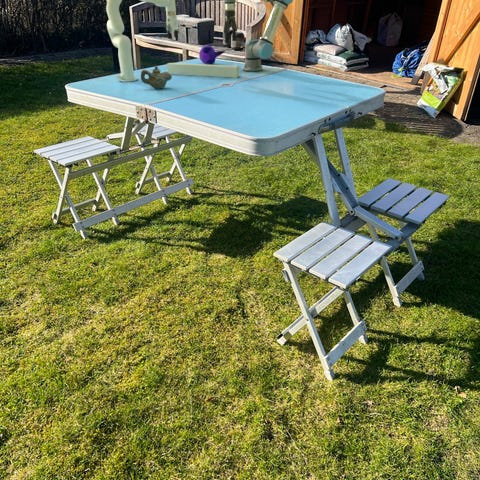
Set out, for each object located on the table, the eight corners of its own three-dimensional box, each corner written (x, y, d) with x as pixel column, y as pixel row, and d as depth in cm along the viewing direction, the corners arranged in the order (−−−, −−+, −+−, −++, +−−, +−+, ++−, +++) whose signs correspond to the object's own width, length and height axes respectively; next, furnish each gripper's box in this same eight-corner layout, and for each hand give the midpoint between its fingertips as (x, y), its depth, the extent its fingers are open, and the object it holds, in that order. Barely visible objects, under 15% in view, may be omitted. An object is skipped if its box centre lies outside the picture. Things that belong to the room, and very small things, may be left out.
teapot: (171, 85, 322) (169, 63, 314) (174, 88, 312) (172, 66, 305) (141, 88, 316) (138, 65, 309) (143, 91, 307) (140, 68, 299)
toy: (209, 67, 381) (200, 66, 405) (227, 60, 385) (217, 60, 408) (203, 48, 374) (194, 48, 397) (222, 41, 377) (212, 42, 401)
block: (167, 74, 363) (166, 64, 359) (171, 72, 367) (170, 62, 364) (236, 77, 344) (236, 67, 340) (239, 76, 348) (239, 65, 344)
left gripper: (169, 14, 333) (172, 39, 342) (180, 12, 347) (182, 37, 356) (161, 14, 336) (163, 39, 344) (172, 12, 350) (174, 36, 358)
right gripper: (228, 11, 313) (229, 44, 324) (241, 9, 333) (241, 40, 344) (218, 11, 316) (219, 43, 326) (231, 9, 336) (232, 39, 346)
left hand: (173, 38), depth 350 cm, fingers open, 9 cm apart
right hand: (230, 42), depth 335 cm, fingers open, 13 cm apart
